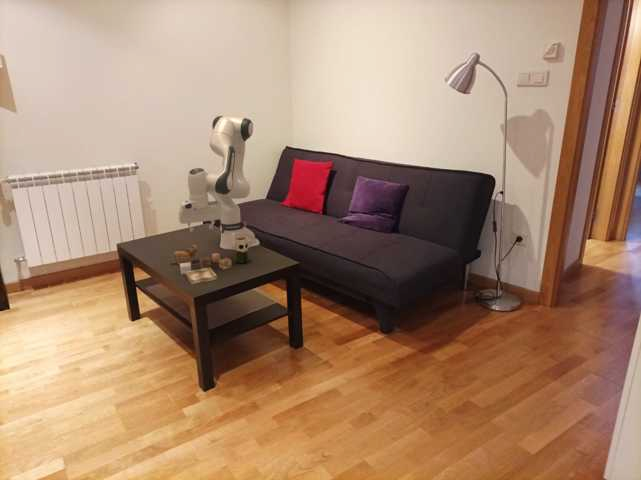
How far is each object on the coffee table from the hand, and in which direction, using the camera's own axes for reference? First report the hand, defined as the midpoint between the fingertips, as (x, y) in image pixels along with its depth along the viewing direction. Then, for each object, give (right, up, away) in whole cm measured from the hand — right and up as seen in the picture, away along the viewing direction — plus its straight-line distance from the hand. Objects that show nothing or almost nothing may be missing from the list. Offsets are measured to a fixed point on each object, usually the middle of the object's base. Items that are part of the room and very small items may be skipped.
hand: (201, 230), depth 238 cm
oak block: (+10, -19, +7) cm, 22 cm away
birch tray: (+1, -23, -6) cm, 24 cm away
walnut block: (+1, -19, +6) cm, 20 cm away
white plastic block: (-8, -21, +1) cm, 22 cm away
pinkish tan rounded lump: (+4, -16, +14) cm, 22 cm away
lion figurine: (-12, -17, +13) cm, 24 cm away
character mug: (+18, -16, +13) cm, 28 cm away
